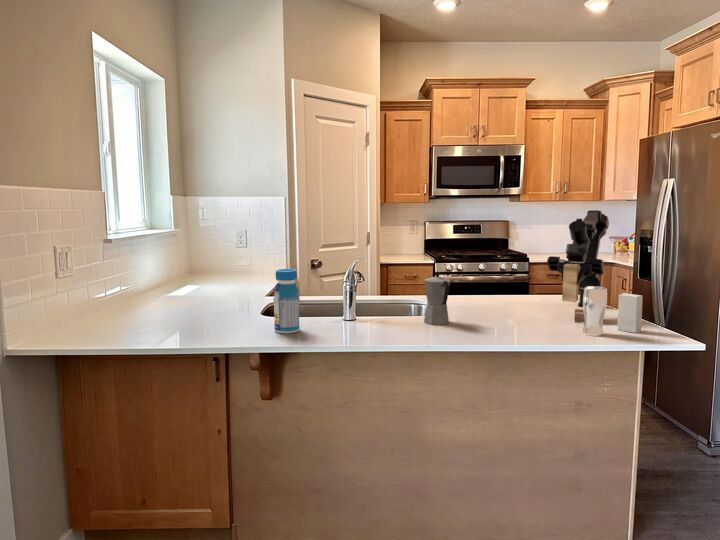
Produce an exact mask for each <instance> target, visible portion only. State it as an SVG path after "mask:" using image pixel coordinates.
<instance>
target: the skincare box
mask: <svg viewBox="0 0 720 540" xmlns="http://www.w3.org/2000/svg"><path fill="white" fill-rule="evenodd" d="M643 298H644V297H643V295H640V294H633V293H624V292H623V293H620V294H618V307H617V310H618V313H617V330H618V331H623V332H629V333H633V334H638V333H640V332H641V331H642V319H643Z"/></svg>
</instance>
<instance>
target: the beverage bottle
mask: <svg viewBox="0 0 720 540" xmlns="http://www.w3.org/2000/svg"><path fill="white" fill-rule="evenodd" d="M297 278H298V271H297V270H296V269H294V268H279V269H276V270H275V281H276V282H277V283H275V286H274V288H273V293H274V295H273V299H272V300H273V306H274V307H273V308H274V309H273V310H274V311H273V313H274V315H273V316H274V332H276V333H278V334H293V333H297V332H299V331H300V328H301V327H300V299H301V298H300V295H299V293H300V289H299V286H298V284H297V282H296V281H297Z"/></svg>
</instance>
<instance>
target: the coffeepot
mask: <svg viewBox="0 0 720 540" xmlns="http://www.w3.org/2000/svg"><path fill="white" fill-rule="evenodd" d="M440 274H441V272H440V271H435V276H432V277H429V278H424V286H425V293H426V301H427V303H426V308H425V314H424V320H423V323H424V324H426V325H430V326H431V325H432V326H446V325H448V324H450V320H449V313H448V312H449V311H448V306H447V305H448V304H447V301H448V297H449V293H450V285H451V280H450V279H449V278H445V277H441V276H440Z"/></svg>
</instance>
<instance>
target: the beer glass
mask: <svg viewBox="0 0 720 540" xmlns="http://www.w3.org/2000/svg"><path fill="white" fill-rule="evenodd" d="M607 305H608V288H607V287H603V286H601V287H598V286H586V287H584V295H583V307H582V309H583V310H584V319H585V323H583V329H582V334H583V333H584V334H583V335H587V336H590V335H591V337H602V336H603V335H604V328H603V324H604V323H603V322H604V318H605V314H606V309H607Z"/></svg>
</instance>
